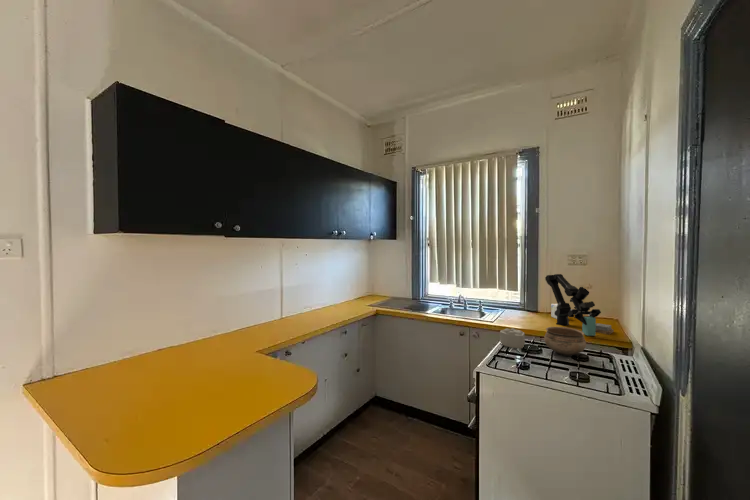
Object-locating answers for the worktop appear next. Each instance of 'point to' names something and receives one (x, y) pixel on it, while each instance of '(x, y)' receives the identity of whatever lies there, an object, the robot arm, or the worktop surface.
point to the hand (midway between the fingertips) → (590, 324)
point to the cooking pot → (565, 340)
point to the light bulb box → (553, 310)
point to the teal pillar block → (589, 326)
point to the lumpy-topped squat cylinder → (512, 338)
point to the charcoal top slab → (603, 327)
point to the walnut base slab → (605, 331)
